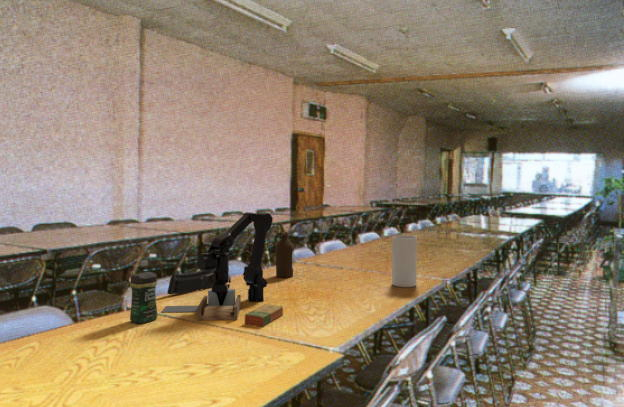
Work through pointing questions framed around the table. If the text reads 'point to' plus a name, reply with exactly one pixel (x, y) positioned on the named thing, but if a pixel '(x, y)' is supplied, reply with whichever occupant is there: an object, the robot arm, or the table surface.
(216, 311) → the offcut stack
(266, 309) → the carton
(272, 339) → the table surface
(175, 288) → the magazine
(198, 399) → the table surface
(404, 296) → the table surface
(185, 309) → the mat
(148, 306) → the coffee jar
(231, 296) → the block
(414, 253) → the cylinder vase
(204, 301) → the rack
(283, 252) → the olive oil
